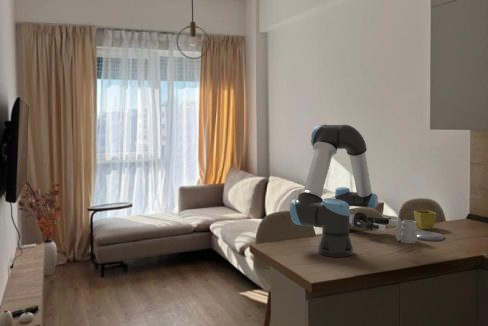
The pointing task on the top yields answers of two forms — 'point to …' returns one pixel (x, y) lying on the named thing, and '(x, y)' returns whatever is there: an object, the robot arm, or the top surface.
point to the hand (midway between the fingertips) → (393, 226)
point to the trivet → (429, 236)
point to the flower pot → (425, 219)
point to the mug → (406, 231)
